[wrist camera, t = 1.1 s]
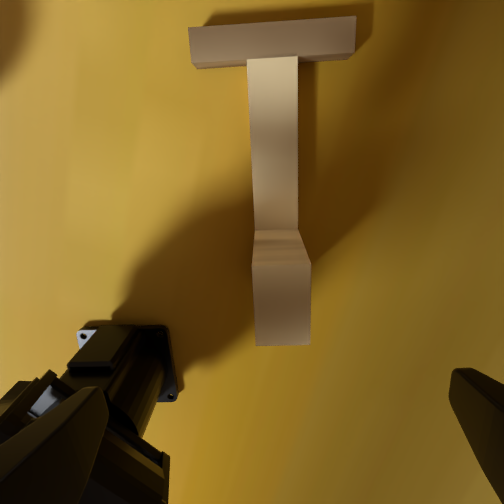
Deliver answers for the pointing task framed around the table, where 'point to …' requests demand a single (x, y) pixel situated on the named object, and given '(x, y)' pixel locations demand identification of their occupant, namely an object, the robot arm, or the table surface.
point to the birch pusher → (276, 154)
